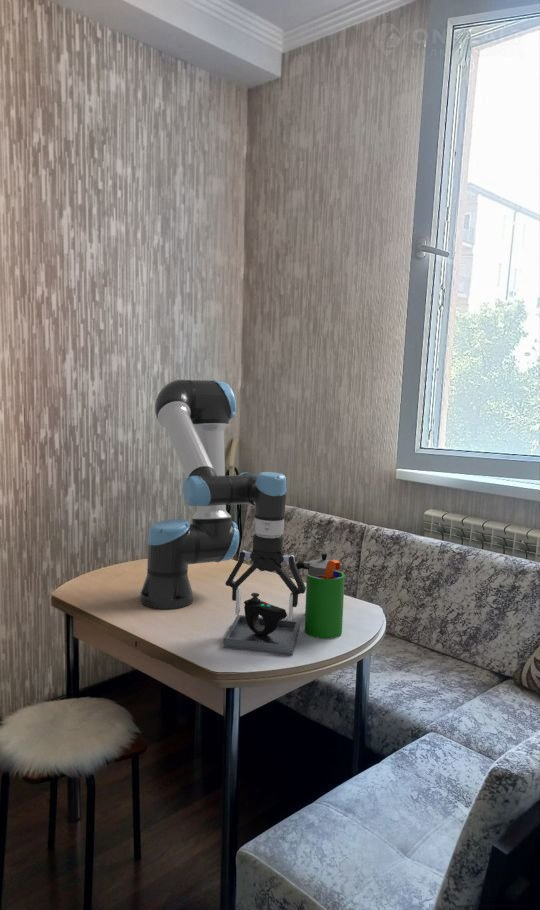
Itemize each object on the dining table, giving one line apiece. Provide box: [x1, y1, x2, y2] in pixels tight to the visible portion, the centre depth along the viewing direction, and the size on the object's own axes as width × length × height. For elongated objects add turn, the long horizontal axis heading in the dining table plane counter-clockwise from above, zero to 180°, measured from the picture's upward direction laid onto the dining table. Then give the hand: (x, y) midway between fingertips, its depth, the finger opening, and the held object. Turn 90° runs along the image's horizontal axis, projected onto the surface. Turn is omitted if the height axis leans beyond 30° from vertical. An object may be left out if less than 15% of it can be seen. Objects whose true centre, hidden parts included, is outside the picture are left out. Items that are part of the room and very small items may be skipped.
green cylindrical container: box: [304, 559, 346, 639], centre depth 181 cm, size 10×9×20 cm
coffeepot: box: [295, 553, 347, 588], centre depth 194 cm, size 15×9×18 cm, turn 101°
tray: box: [223, 614, 301, 656], centre depth 176 cm, size 17×17×2 cm
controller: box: [243, 592, 288, 636], centre depth 175 cm, size 4×12×10 cm, turn 51°
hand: (263, 615), depth 175 cm, fingers open, 13 cm apart
